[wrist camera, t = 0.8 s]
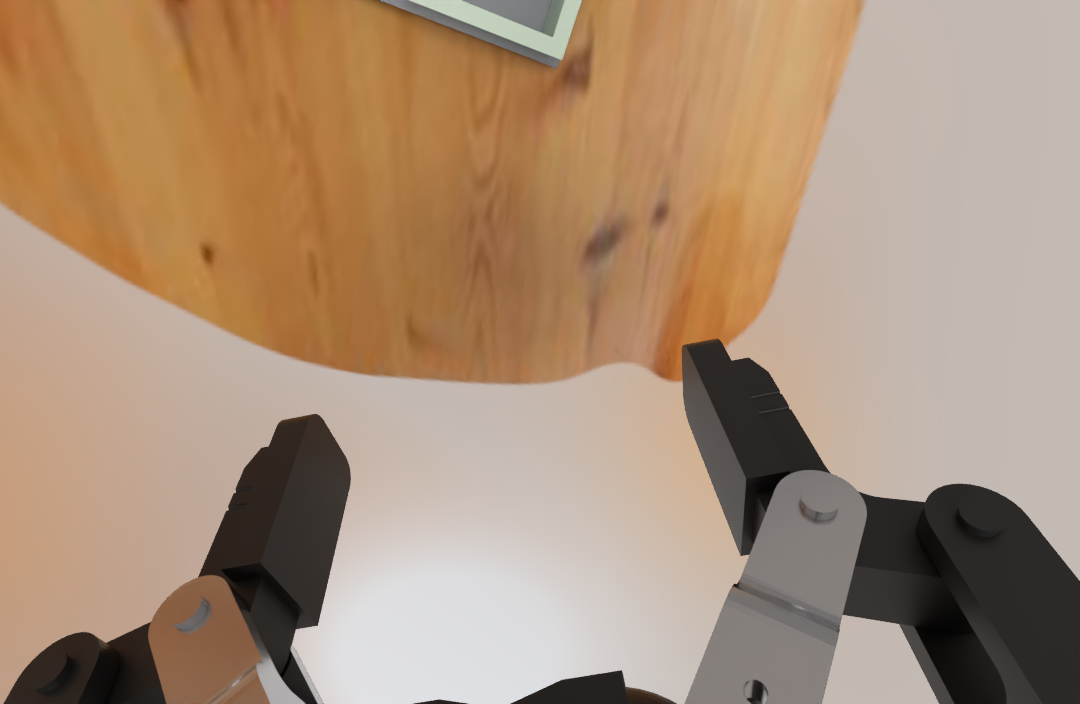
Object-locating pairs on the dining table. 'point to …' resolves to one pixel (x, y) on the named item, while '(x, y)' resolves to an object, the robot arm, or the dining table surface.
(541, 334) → the dining table surface
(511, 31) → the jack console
